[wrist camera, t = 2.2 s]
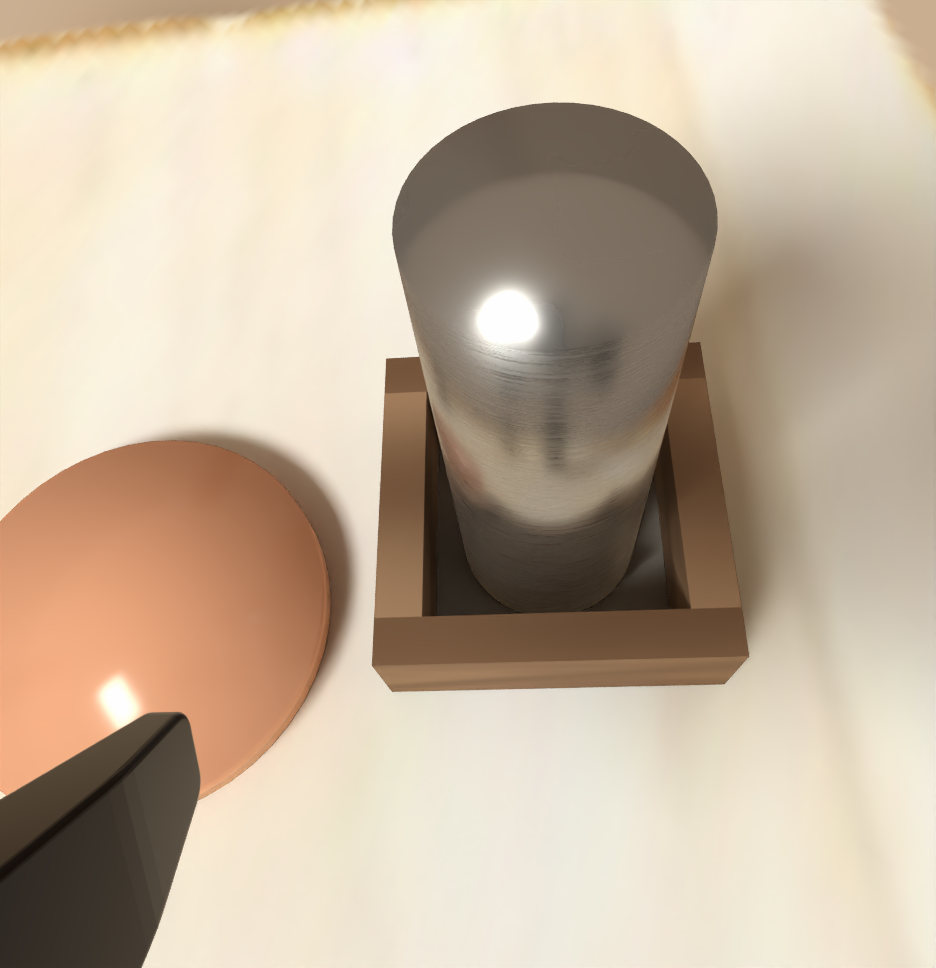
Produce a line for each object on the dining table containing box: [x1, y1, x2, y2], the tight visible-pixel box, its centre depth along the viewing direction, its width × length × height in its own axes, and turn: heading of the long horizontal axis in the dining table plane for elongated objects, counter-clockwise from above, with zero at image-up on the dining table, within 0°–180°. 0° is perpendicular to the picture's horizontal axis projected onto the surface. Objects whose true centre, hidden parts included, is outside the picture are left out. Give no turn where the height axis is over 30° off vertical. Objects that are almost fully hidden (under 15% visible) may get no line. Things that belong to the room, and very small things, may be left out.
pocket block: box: [372, 342, 749, 692], centre depth 23 cm, size 9×9×3 cm
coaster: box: [0, 440, 331, 800], centre depth 24 cm, size 11×11×1 cm
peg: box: [392, 103, 717, 614], centre depth 19 cm, size 5×5×13 cm
